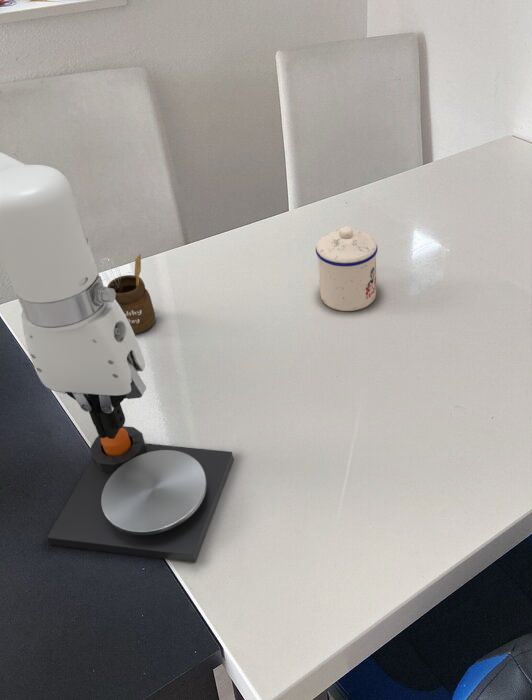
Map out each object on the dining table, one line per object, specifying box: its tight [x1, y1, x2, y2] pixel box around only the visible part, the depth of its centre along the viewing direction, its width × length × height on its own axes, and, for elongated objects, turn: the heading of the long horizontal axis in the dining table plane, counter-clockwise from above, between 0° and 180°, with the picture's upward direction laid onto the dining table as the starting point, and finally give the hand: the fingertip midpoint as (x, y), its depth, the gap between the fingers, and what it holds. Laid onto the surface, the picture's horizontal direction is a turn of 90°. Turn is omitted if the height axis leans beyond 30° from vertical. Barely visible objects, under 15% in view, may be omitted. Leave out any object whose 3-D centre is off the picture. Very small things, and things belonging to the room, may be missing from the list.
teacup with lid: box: [315, 226, 378, 312], centre depth 103 cm, size 12×9×12 cm
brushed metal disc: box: [101, 450, 207, 535], centre depth 73 cm, size 11×11×1 cm
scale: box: [46, 425, 235, 563], centre depth 75 cm, size 16×15×3 cm
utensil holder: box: [99, 252, 156, 335], centre depth 98 cm, size 6×6×12 cm
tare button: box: [101, 428, 131, 456], centre depth 78 cm, size 3×3×2 cm
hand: (112, 429), depth 77 cm, fingers closed
